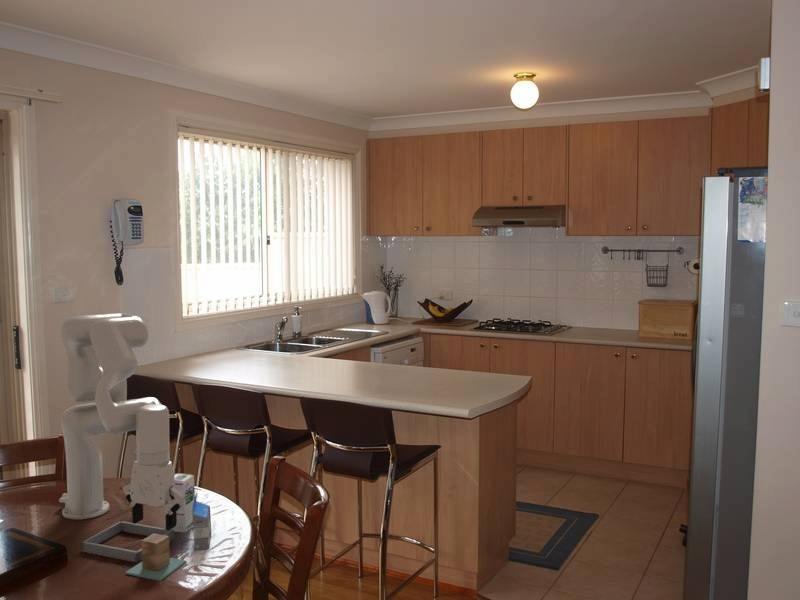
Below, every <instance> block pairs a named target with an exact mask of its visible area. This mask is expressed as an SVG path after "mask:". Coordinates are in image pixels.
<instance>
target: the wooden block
mask: <svg viewBox="0 0 800 600" xmlns="http://www.w3.org/2000/svg"><path fill="white" fill-rule="evenodd" d="M141 548H142V560H141V562H142V569H147V570H152V571H157V572H158V571H159V570H161V569H162V568H164V567H165V566H167V565H168V564H170V558H171V557H170V542H169V536H166V535H160V534H155V533H154V534H152V535H150V536H147V537H145V538H144V539H142V540H141Z"/></svg>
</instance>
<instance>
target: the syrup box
mask: <svg viewBox="0 0 800 600" xmlns="http://www.w3.org/2000/svg"><path fill="white" fill-rule="evenodd" d="M174 478H175V489H176V490H178V491H179V492H180V493H182V494H183V495H184V496H185V497H186V498H185V501H184V503H183V505H182V507H181V508H180V509H179V510H178V511H176V512H177V523H176V526H175V527H174V528H172V529H170V530H174V533H184V534H185V533H188V531H189V530H191V529H193V516H192V506H193V501H194V498H195V495H196V490H195V475H194V474H190V473H174ZM174 501H175V503H176V502H177V499H176V498H175V500H174ZM194 503H195V502H194ZM169 506H170V507H171V508H172V506H171V505H170V503H169ZM166 514H168V513H167V512H166Z"/></svg>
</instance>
